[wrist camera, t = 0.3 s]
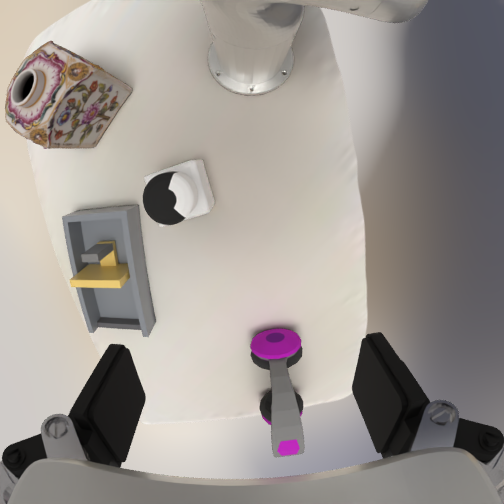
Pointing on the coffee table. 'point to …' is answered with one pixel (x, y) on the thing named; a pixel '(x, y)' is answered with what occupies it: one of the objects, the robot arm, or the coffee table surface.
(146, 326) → the gray tray
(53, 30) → the coffee table surface
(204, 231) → the coffee table surface
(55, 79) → the decorative jar
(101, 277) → the pusher
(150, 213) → the medicine bottle
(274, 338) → the headphones
